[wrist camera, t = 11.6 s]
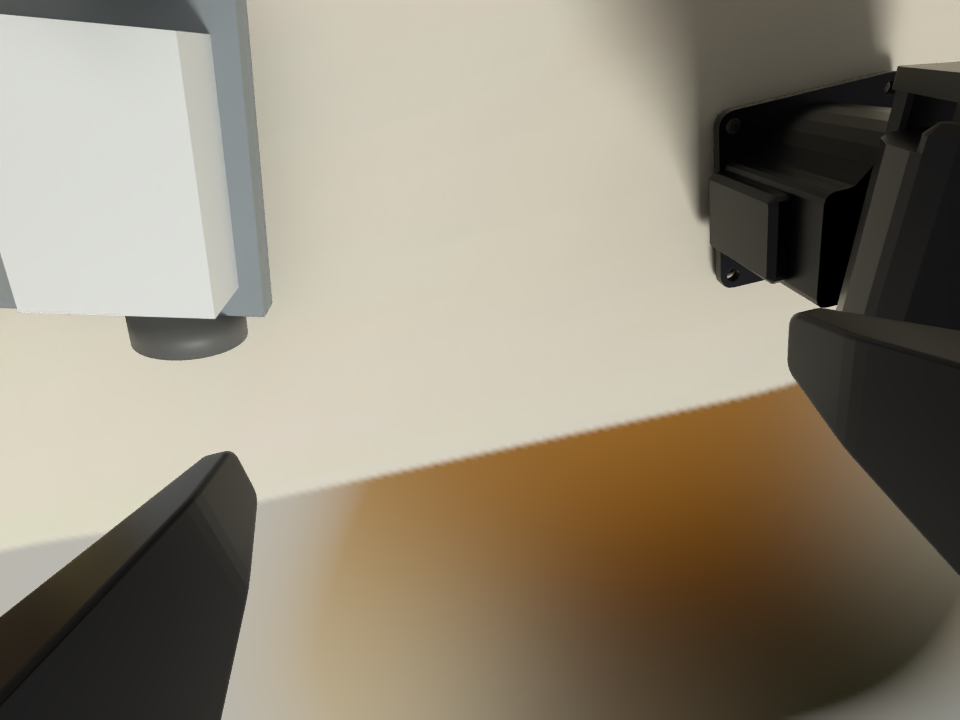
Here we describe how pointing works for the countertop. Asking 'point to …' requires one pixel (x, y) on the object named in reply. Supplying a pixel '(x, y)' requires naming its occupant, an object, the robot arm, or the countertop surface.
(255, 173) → the toy chassis
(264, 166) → the countertop surface
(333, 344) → the countertop surface
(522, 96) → the countertop surface
